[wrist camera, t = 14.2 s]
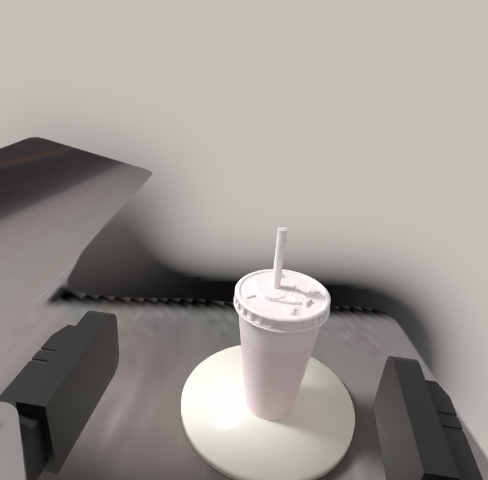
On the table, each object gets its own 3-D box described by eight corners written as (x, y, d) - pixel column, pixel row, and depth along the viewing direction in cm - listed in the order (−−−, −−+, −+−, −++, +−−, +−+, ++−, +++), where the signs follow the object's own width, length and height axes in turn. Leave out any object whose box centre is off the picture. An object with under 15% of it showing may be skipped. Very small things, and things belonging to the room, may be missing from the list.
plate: (148, 450, 28) (148, 441, 28) (218, 336, 39) (218, 329, 39) (344, 518, 25) (346, 509, 24) (359, 373, 36) (360, 366, 36)
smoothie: (259, 359, 36) (274, 205, 30) (327, 397, 32) (359, 231, 26) (209, 404, 31) (216, 231, 25) (283, 453, 28) (311, 267, 22)
